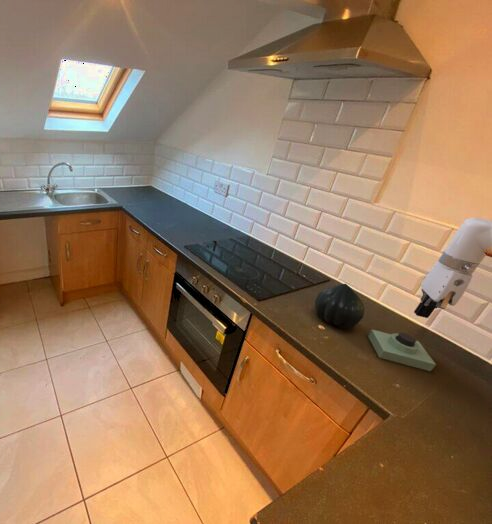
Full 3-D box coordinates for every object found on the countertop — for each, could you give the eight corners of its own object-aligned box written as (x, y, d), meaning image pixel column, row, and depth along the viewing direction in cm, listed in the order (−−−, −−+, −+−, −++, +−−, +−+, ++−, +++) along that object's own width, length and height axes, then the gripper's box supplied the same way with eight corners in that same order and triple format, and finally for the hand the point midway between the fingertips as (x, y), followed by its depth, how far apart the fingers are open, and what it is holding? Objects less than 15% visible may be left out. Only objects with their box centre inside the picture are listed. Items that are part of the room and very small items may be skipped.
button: (409, 339, 97) (412, 334, 96) (415, 348, 93) (418, 343, 93) (393, 335, 98) (396, 331, 97) (399, 344, 94) (402, 339, 94)
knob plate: (413, 347, 101) (421, 336, 99) (430, 371, 92) (439, 359, 89) (367, 336, 104) (374, 324, 102) (379, 357, 95) (386, 345, 93)
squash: (348, 328, 97) (373, 291, 98) (303, 306, 108) (327, 272, 109) (350, 340, 108) (373, 306, 108) (309, 318, 118) (331, 287, 119)
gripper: (492, 279, 75) (448, 334, 84) (457, 255, 88) (422, 305, 97) (457, 271, 77) (418, 326, 86) (427, 249, 90) (396, 299, 98)
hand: (420, 315), depth 91 cm, fingers closed
